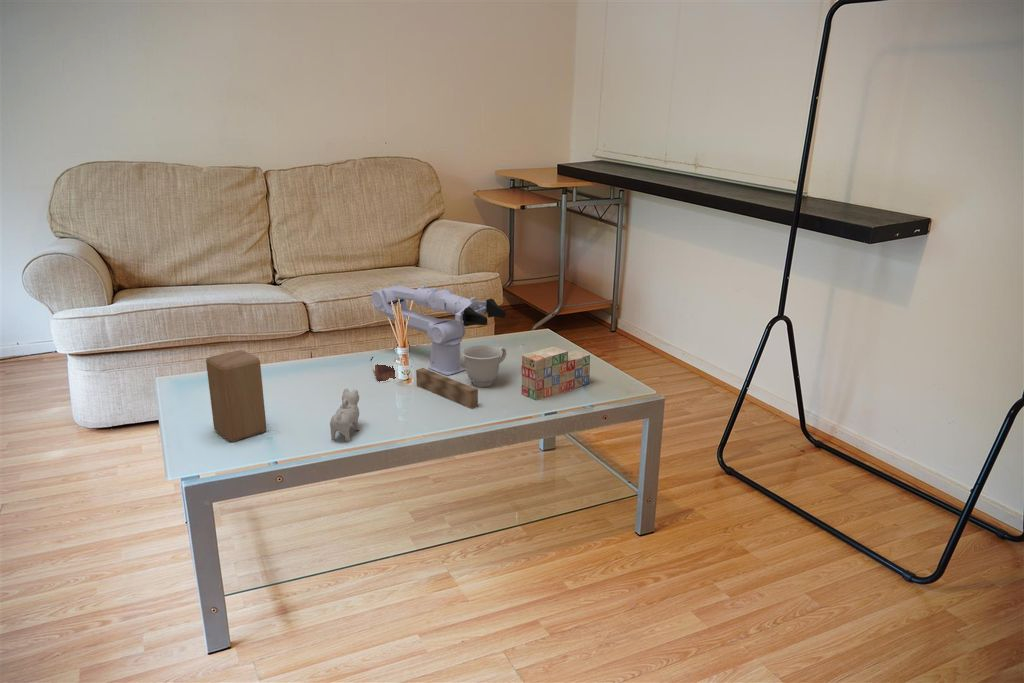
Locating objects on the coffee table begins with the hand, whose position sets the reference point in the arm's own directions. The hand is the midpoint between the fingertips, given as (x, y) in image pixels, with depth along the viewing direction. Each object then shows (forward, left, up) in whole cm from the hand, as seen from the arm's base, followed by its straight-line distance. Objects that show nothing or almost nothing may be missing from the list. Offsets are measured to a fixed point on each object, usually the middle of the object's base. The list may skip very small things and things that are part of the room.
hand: (495, 317), depth 223 cm
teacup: (-4, 0, -21) cm, 21 cm away
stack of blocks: (+14, +11, -21) cm, 28 cm away
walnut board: (-4, -16, -21) cm, 26 cm away
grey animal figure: (-2, -50, -21) cm, 55 cm away
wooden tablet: (-35, -13, -22) cm, 43 cm away
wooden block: (-21, -69, -21) cm, 75 cm away
